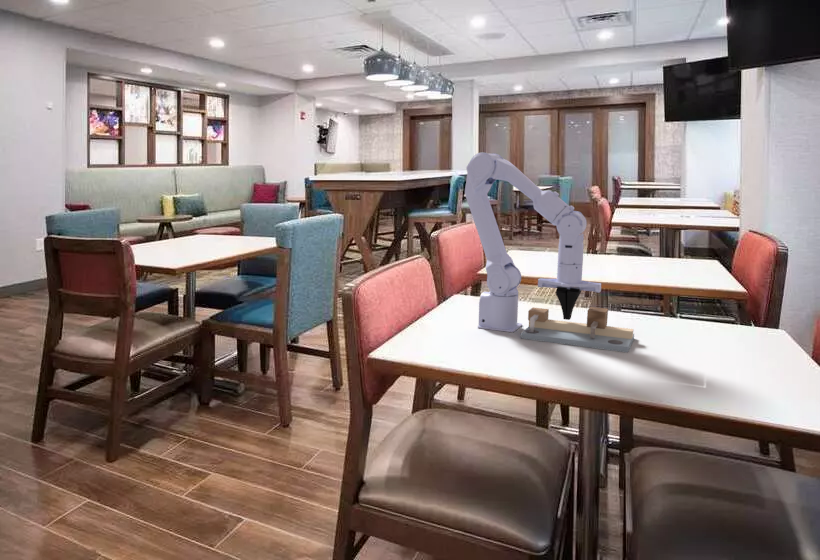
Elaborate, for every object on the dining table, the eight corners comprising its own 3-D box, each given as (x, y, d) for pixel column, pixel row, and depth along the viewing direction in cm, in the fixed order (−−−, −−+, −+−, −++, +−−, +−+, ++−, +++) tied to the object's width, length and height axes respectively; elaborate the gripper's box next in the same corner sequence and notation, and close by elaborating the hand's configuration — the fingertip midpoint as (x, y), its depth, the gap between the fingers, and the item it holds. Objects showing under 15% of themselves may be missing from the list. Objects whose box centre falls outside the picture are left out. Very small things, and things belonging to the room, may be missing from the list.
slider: (583, 337, 131) (584, 314, 130) (589, 329, 138) (590, 306, 137) (601, 339, 129) (602, 316, 128) (606, 331, 136) (608, 308, 135)
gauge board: (520, 338, 136) (521, 316, 135) (534, 326, 146) (534, 305, 145) (627, 352, 125) (629, 328, 124) (633, 338, 136) (635, 316, 135)
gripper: (535, 263, 135) (533, 318, 138) (599, 267, 129) (595, 326, 131) (542, 259, 141) (540, 312, 144) (603, 263, 135) (600, 319, 137)
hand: (567, 318), depth 138 cm, fingers closed
